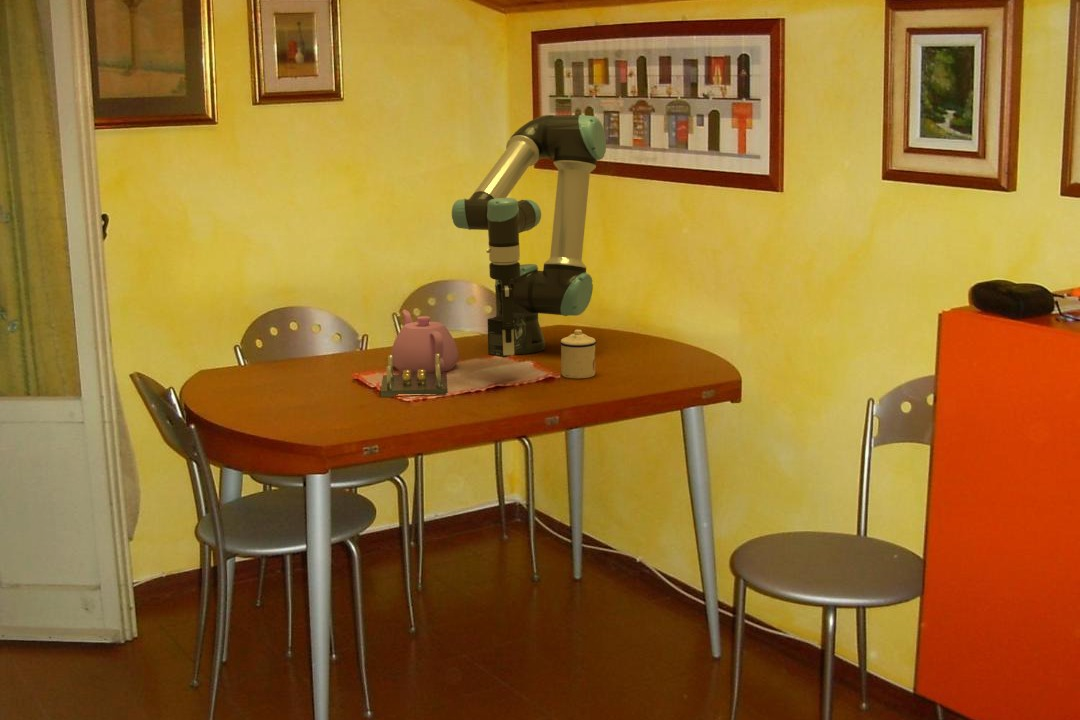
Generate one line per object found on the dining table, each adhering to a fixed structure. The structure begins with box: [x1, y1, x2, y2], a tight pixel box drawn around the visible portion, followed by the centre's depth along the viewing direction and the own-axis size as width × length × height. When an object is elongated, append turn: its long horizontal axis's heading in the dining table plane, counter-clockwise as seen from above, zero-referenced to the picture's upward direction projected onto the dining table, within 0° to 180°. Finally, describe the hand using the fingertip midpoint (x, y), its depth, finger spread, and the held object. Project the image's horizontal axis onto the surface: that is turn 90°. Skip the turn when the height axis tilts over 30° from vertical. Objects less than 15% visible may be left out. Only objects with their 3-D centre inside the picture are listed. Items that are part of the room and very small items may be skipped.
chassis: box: [380, 353, 448, 398], centre depth 326 cm, size 16×16×7 cm
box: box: [487, 312, 526, 358], centre depth 330 cm, size 9×6×10 cm, turn 147°
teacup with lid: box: [559, 329, 597, 380], centre depth 337 cm, size 12×9×12 cm
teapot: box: [390, 309, 460, 374], centre depth 347 cm, size 25×18×14 cm
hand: (507, 349), depth 331 cm, fingers closed on box, 10 cm apart
